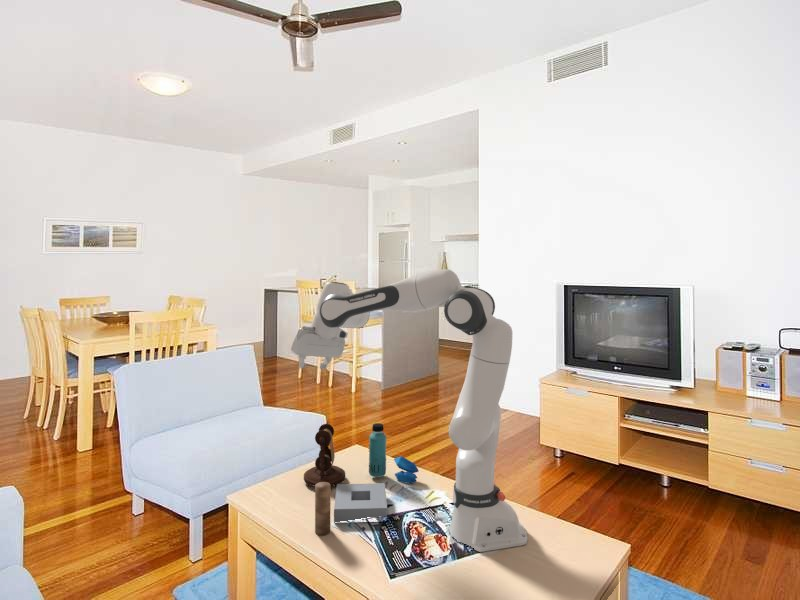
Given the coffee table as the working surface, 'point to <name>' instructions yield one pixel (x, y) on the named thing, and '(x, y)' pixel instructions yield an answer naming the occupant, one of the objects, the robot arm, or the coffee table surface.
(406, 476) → the open blue clamshell
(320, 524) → the walnut dowel
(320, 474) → the dark brown ring stand
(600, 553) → the coffee table surface
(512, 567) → the coffee table surface
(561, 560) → the coffee table surface
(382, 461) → the beverage bottle
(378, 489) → the grey square socket block
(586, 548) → the coffee table surface
